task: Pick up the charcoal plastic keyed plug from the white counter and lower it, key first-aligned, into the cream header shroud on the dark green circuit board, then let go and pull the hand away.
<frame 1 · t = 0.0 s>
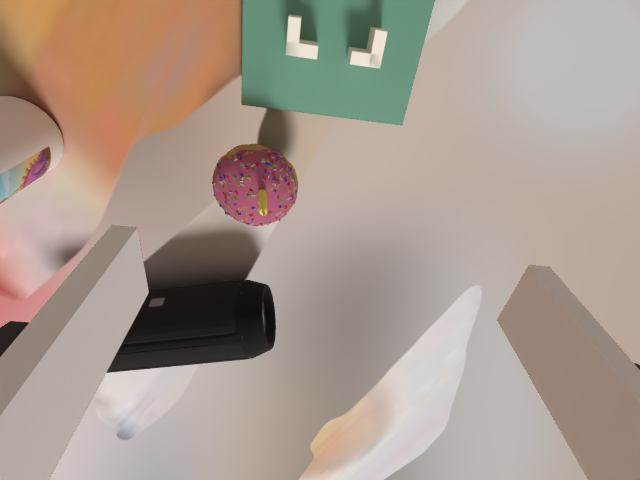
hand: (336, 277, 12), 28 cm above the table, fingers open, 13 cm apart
portable speaker: (183, 298, 51), on the table
cupcake: (261, 168, 40), on the table
milk bottle: (27, 132, 37), on the table
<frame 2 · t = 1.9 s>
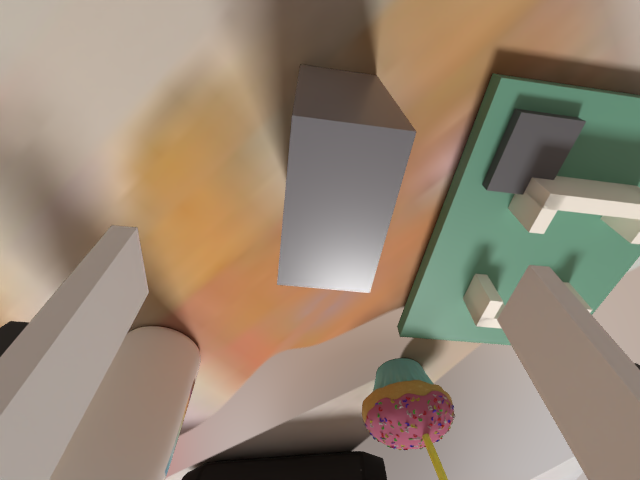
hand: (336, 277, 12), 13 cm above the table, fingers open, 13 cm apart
portable speaker: (287, 458, 49), on the table
cupcake: (398, 370, 38), on the table
milk bottle: (162, 348, 35), on the table
plug: (328, 136, 23), on the table
board: (532, 239, 28), on the table
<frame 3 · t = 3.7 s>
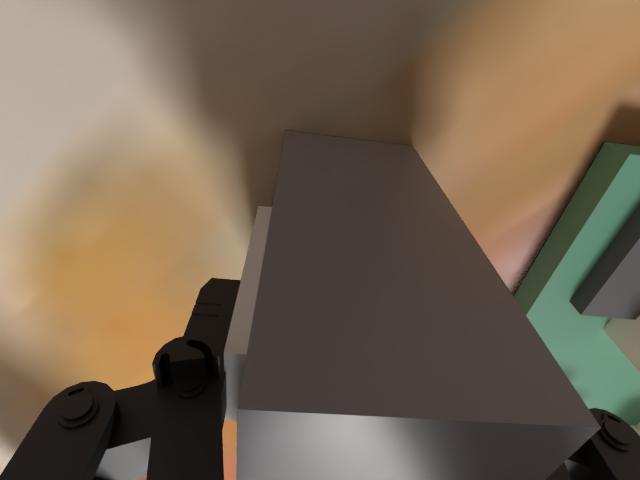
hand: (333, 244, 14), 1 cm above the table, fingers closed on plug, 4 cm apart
plug: (332, 233, 15), on the table, touching gripper
board: (623, 355, 20), on the table
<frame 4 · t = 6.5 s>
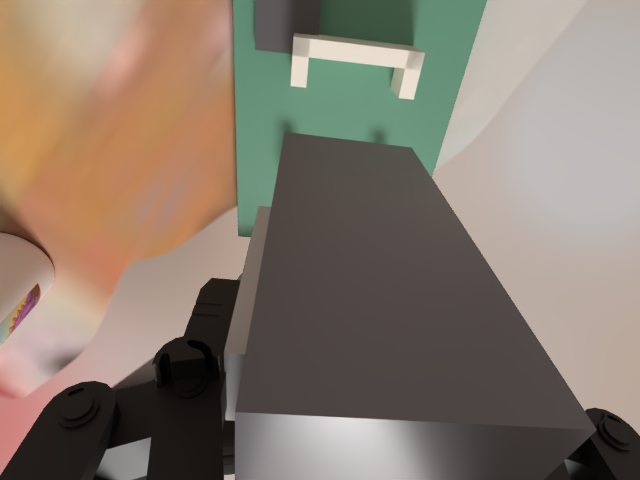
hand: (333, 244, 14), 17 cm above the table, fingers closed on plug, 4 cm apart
portable speaker: (185, 394, 50), on the table
milk bottle: (16, 260, 36), on the table
plug: (331, 234, 15), point 16 cm above the table, touching gripper
board: (341, 120, 28), on the table
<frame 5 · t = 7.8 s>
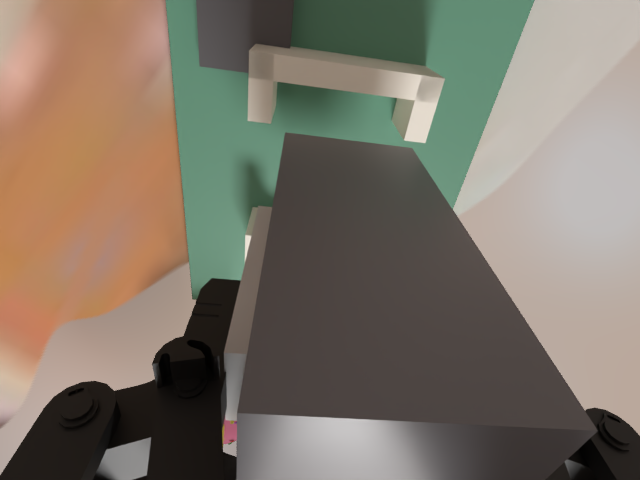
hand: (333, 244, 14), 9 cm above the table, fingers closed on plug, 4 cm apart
portable speaker: (142, 461, 42), on the table
cupcake: (226, 348, 31), on the table
plug: (332, 235, 15), point 8 cm above the table, touching gripper
board: (325, 159, 21), on the table
when the fingers open (3 cm above the table, at t = 9.2 s): plug drops 1 cm, resting on board.
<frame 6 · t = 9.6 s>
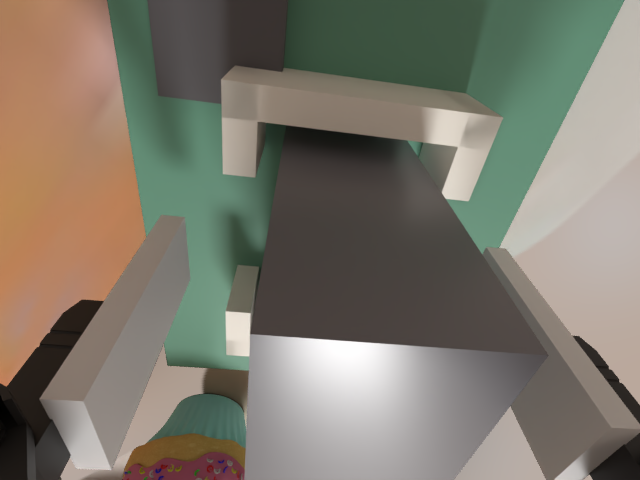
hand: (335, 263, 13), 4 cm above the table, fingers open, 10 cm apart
cupcake: (212, 410, 26), on the table
plug: (330, 220, 16), point 1 cm above the table, touching board
board: (329, 205, 17), on the table
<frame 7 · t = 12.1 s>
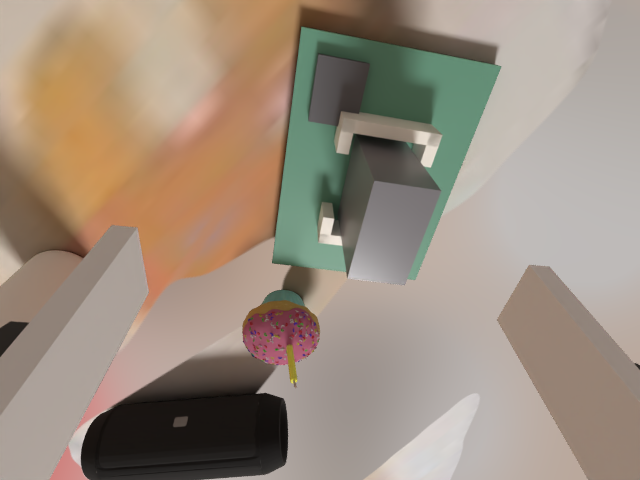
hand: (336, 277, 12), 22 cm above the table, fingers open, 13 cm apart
portable speaker: (201, 402, 54), on the table
cupcake: (283, 304, 44), on the table
milk bottle: (69, 275, 40), on the table
plug: (369, 179, 34), point 1 cm above the table, touching board
board: (368, 174, 35), on the table
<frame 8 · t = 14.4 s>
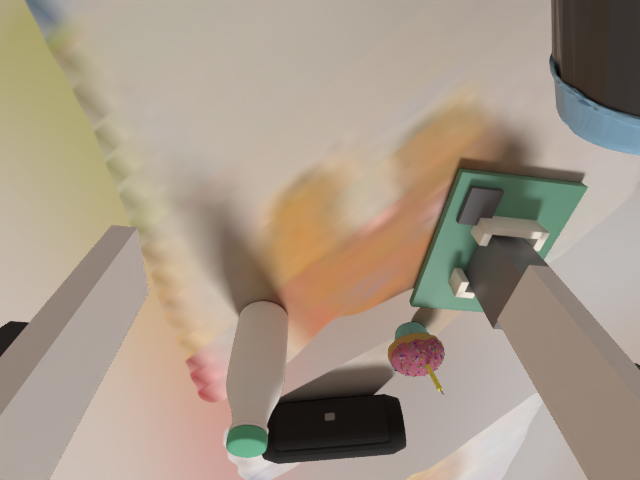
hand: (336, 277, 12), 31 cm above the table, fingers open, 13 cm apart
portable speaker: (331, 401, 71), on the table
cupcake: (409, 331, 60), on the table
milk bottle: (264, 316, 57), on the table
plug: (489, 253, 49), point 1 cm above the table, touching board
board: (486, 248, 50), on the table
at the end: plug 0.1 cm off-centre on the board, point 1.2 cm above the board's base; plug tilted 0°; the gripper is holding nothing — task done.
